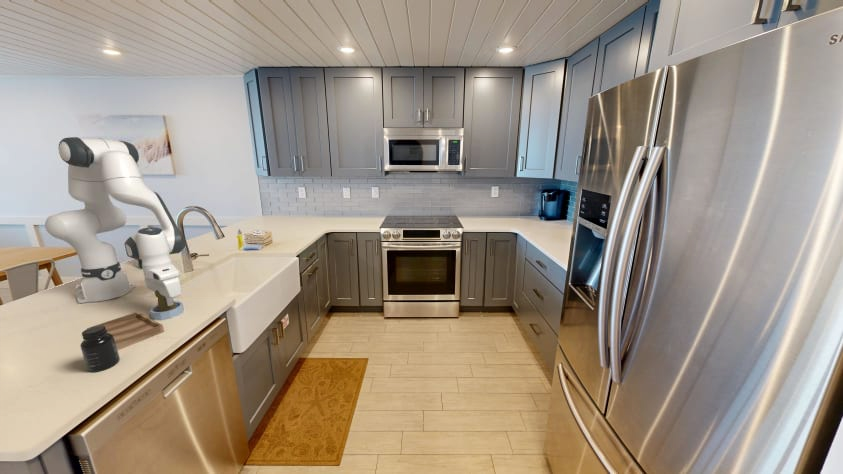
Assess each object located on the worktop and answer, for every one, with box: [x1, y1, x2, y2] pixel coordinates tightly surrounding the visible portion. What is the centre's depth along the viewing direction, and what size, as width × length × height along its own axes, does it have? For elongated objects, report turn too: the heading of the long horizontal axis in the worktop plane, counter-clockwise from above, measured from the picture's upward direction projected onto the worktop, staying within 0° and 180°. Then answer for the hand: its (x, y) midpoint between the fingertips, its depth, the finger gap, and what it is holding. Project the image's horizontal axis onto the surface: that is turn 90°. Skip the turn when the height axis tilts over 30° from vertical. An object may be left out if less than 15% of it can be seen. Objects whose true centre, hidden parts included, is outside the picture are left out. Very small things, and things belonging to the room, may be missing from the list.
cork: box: [154, 290, 176, 312], centre depth 121 cm, size 6×6×11 cm
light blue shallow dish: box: [149, 300, 185, 321], centre depth 122 cm, size 10×10×3 cm
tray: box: [86, 311, 165, 351], centre depth 108 cm, size 20×14×3 cm
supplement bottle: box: [79, 325, 121, 373], centre depth 90 cm, size 7×7×12 cm
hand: (165, 303), depth 121 cm, fingers open, 5 cm apart
